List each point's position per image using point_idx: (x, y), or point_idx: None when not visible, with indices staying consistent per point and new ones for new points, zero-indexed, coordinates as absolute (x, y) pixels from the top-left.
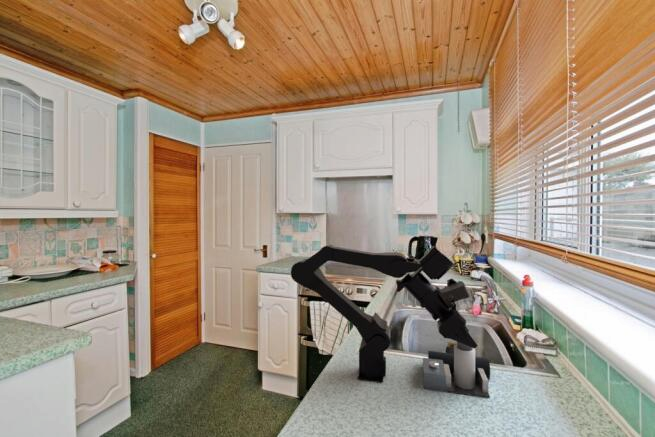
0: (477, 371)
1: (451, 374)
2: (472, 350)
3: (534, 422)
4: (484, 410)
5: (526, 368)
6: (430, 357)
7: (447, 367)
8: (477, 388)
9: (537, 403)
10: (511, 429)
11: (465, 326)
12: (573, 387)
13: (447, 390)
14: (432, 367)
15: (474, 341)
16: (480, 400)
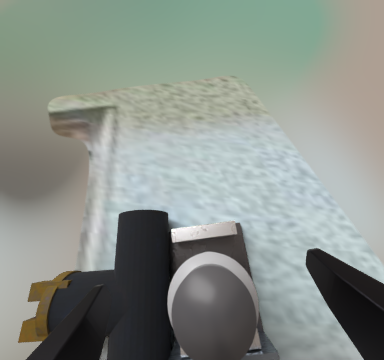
0: (168, 242)
1: None
2: (225, 265)
3: (281, 160)
4: (292, 237)
5: (93, 146)
6: None
7: None
8: (219, 246)
9: (217, 148)
10: (326, 196)
11: (87, 315)
12: (144, 97)
13: (262, 326)
14: None
15: (352, 268)
16: (257, 243)
